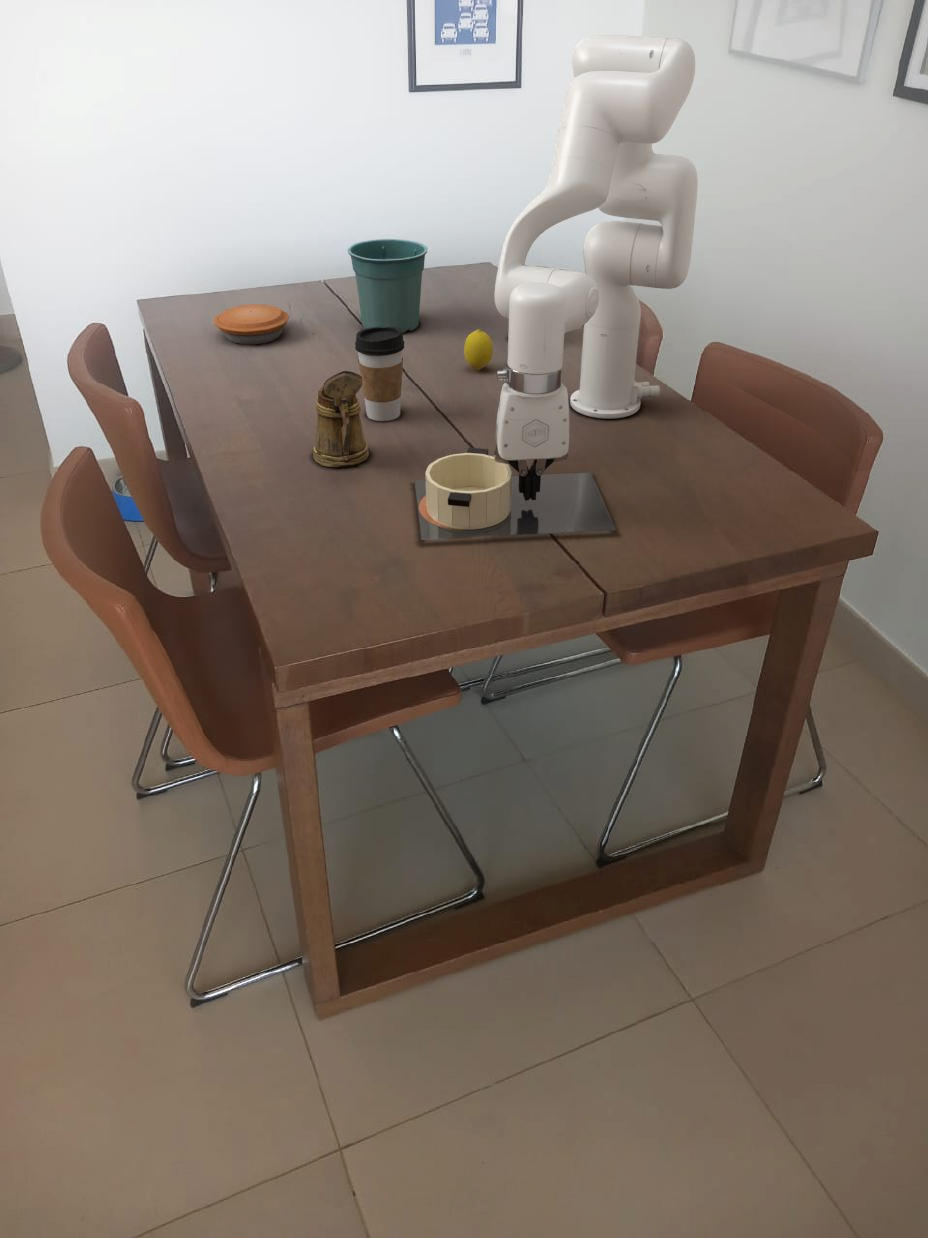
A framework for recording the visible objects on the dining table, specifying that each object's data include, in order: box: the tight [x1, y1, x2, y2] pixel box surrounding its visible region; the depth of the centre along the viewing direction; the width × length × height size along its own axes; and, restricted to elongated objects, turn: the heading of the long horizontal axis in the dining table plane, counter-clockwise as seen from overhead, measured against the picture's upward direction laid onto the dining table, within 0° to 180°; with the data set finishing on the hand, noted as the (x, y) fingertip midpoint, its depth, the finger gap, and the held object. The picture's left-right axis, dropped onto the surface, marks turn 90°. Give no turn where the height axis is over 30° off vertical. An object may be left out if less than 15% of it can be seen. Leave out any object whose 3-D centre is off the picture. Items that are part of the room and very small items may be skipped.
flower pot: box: [347, 238, 428, 334], centre depth 210 cm, size 16×16×16 cm
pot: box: [424, 447, 513, 530], centre depth 146 cm, size 12×16×6 cm
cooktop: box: [414, 471, 617, 541], centre depth 149 cm, size 28×18×1 cm, turn 95°
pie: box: [213, 303, 290, 345], centre depth 208 cm, size 15×16×5 cm
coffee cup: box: [354, 327, 405, 422], centre depth 173 cm, size 8×8×15 cm
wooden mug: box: [312, 370, 370, 469], centre depth 157 cm, size 9×14×18 cm, turn 17°
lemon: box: [463, 329, 494, 371], centre depth 192 cm, size 6×6×8 cm
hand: (528, 495), depth 148 cm, fingers closed
